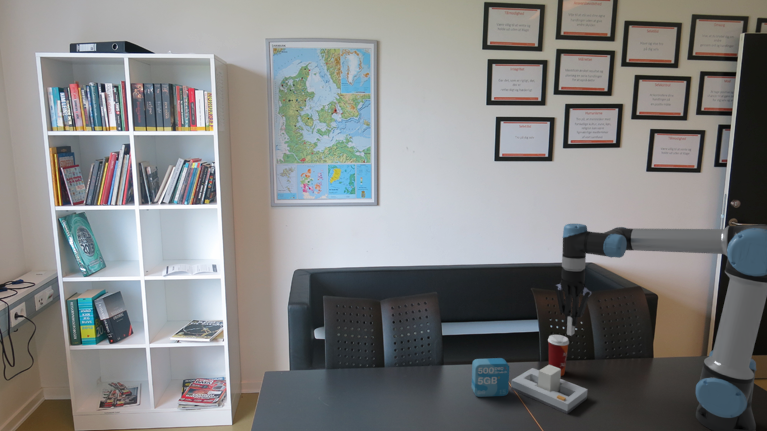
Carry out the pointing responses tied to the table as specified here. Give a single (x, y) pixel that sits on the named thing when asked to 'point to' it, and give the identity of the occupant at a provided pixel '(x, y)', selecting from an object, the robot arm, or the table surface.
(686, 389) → the table surface
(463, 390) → the table surface
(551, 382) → the plug
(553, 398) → the socket
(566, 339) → the paper cup
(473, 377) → the data package
